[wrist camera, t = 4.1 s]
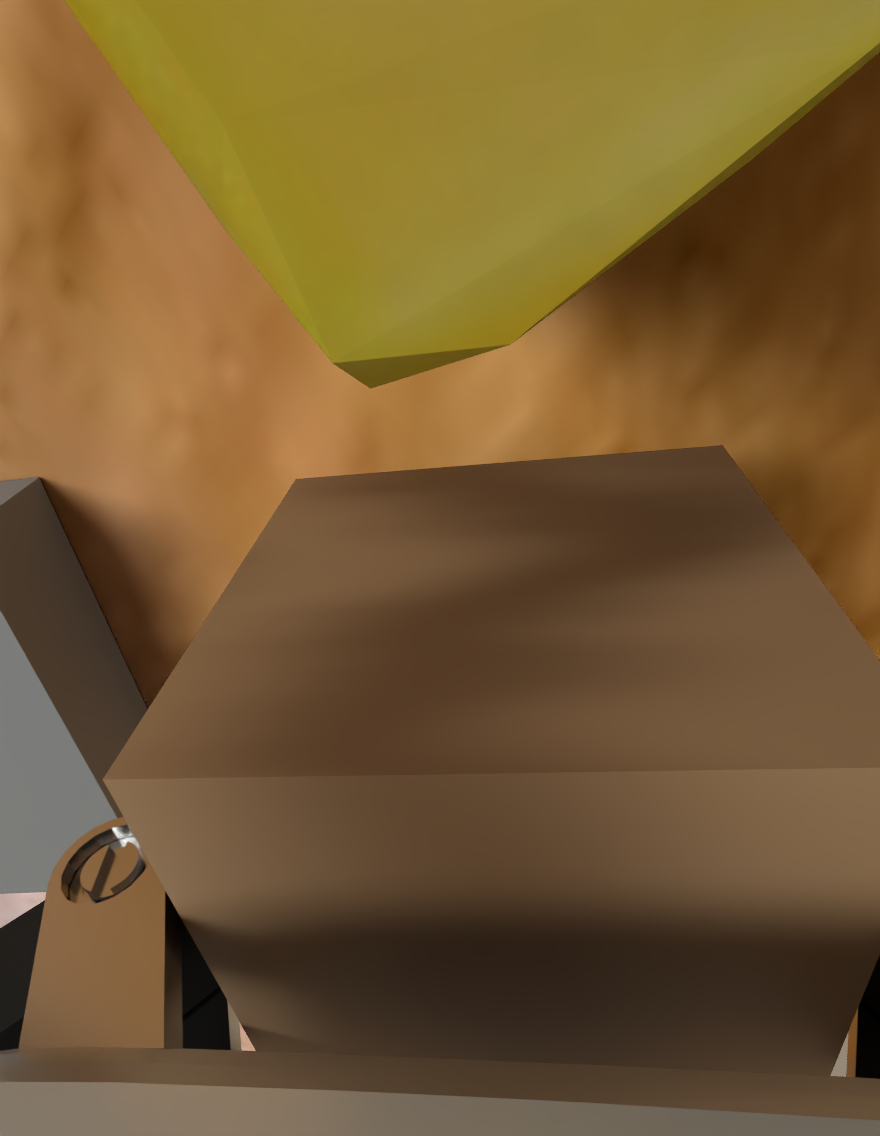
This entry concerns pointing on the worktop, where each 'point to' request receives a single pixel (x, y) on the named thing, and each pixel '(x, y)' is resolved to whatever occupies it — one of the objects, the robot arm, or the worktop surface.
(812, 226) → the worktop surface
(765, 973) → the walnut block
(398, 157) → the yellow holed cube
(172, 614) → the worktop surface
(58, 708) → the slate slab
